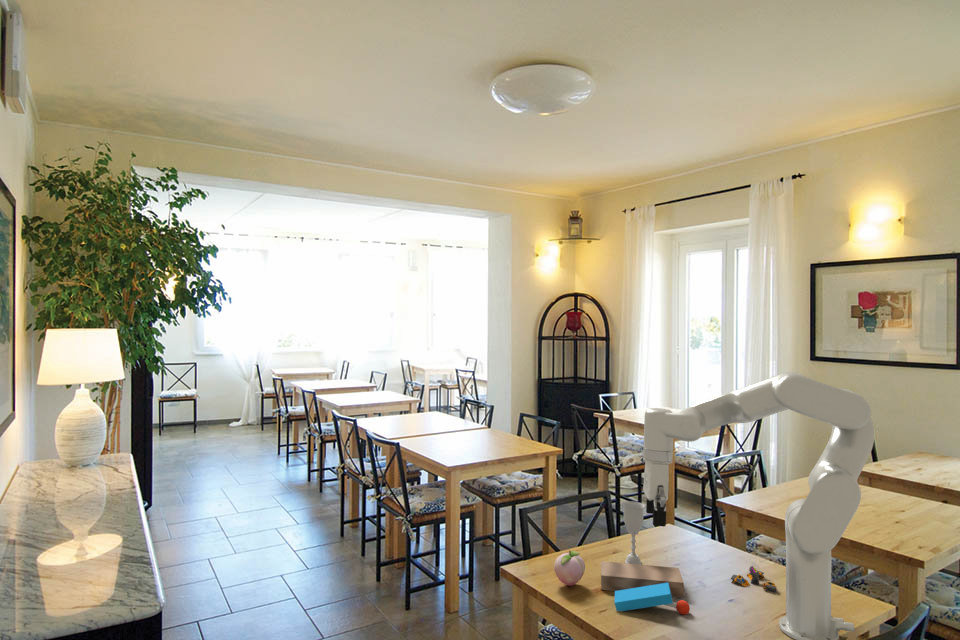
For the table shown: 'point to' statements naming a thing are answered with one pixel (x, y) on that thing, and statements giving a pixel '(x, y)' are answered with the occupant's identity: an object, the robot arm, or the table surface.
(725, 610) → the table surface
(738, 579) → the toy set
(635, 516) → the chalice
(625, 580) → the walnut riser block
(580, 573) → the decorative fruit
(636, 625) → the table surface
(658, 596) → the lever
